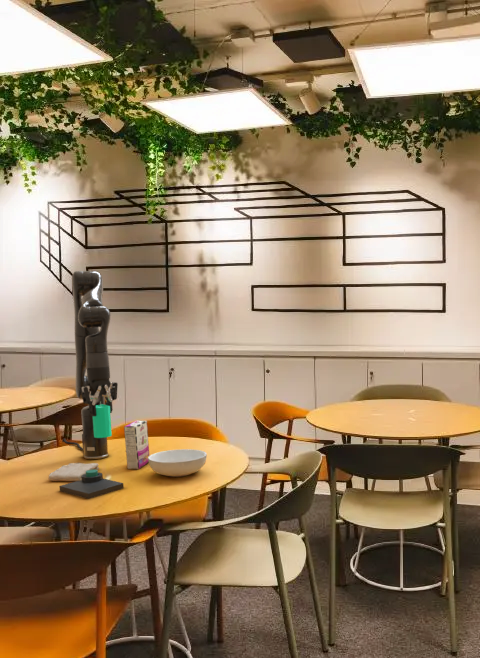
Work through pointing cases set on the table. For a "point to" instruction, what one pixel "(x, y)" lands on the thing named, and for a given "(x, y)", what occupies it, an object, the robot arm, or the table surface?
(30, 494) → the table surface
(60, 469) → the washcloth
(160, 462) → the serving bowl
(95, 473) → the button
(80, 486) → the scale
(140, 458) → the candy bar box
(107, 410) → the candle
